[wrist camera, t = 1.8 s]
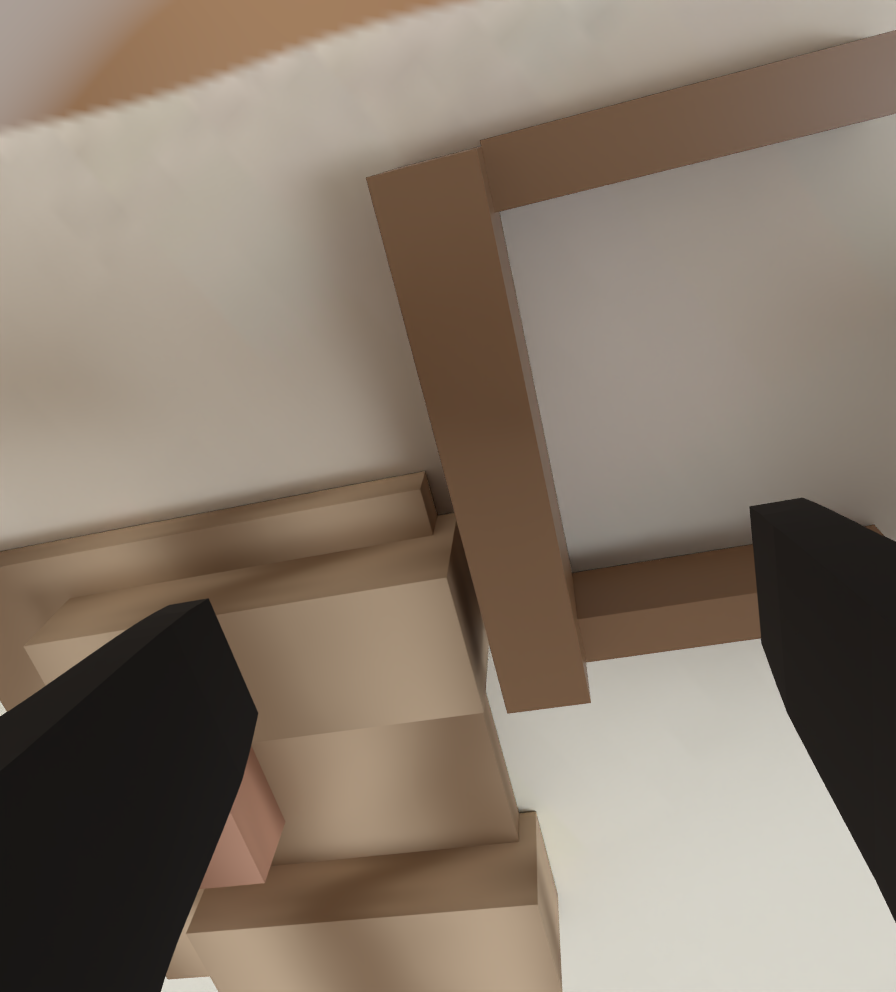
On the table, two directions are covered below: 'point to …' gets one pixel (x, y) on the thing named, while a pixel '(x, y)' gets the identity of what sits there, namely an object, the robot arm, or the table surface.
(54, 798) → the robot arm
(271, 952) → the wooden u-shaped block
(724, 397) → the table surface
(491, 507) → the wooden c-shaped piece
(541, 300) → the table surface
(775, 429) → the table surface
